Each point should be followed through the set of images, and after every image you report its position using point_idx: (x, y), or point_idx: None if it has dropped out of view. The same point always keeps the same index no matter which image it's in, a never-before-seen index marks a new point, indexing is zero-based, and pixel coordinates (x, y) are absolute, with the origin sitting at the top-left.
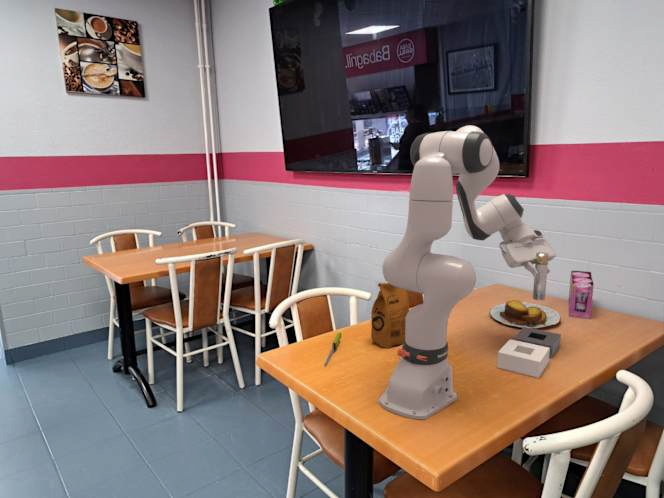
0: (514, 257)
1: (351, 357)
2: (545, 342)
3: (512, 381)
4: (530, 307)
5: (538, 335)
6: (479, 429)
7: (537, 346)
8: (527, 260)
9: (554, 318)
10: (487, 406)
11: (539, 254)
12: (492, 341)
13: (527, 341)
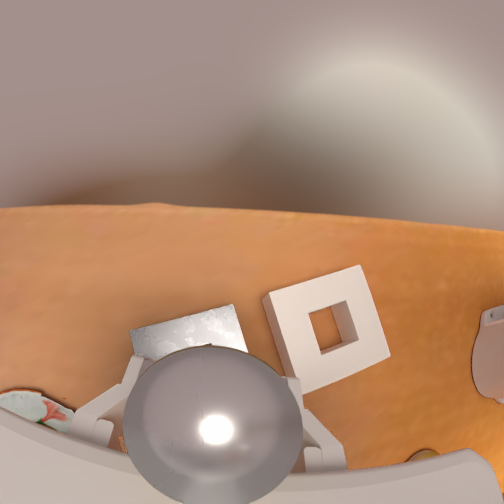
0: (493, 478)
1: None
2: (222, 330)
3: (392, 298)
4: None
5: None
6: (492, 247)
7: (286, 318)
8: (370, 469)
9: (6, 407)
10: (465, 273)
11: (300, 427)
12: None
13: None
